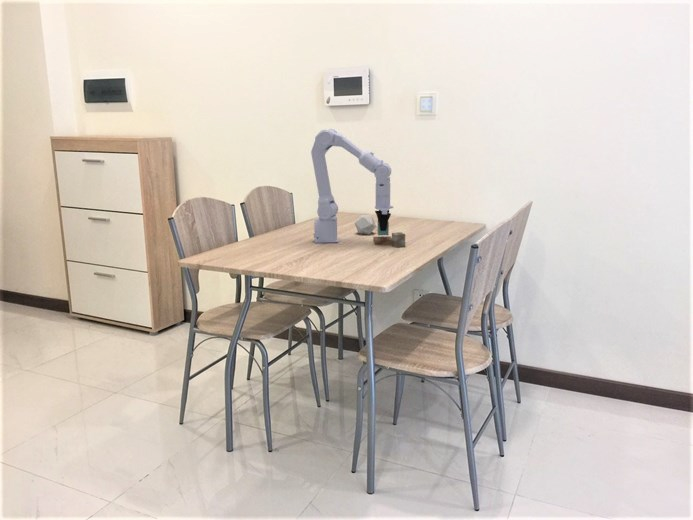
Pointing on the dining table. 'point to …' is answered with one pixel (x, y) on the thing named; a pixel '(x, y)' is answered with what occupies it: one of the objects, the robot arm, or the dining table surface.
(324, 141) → the robot arm
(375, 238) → the walnut slab
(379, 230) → the teal block
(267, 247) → the dining table surface
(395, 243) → the grey block
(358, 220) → the die
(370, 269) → the dining table surface
